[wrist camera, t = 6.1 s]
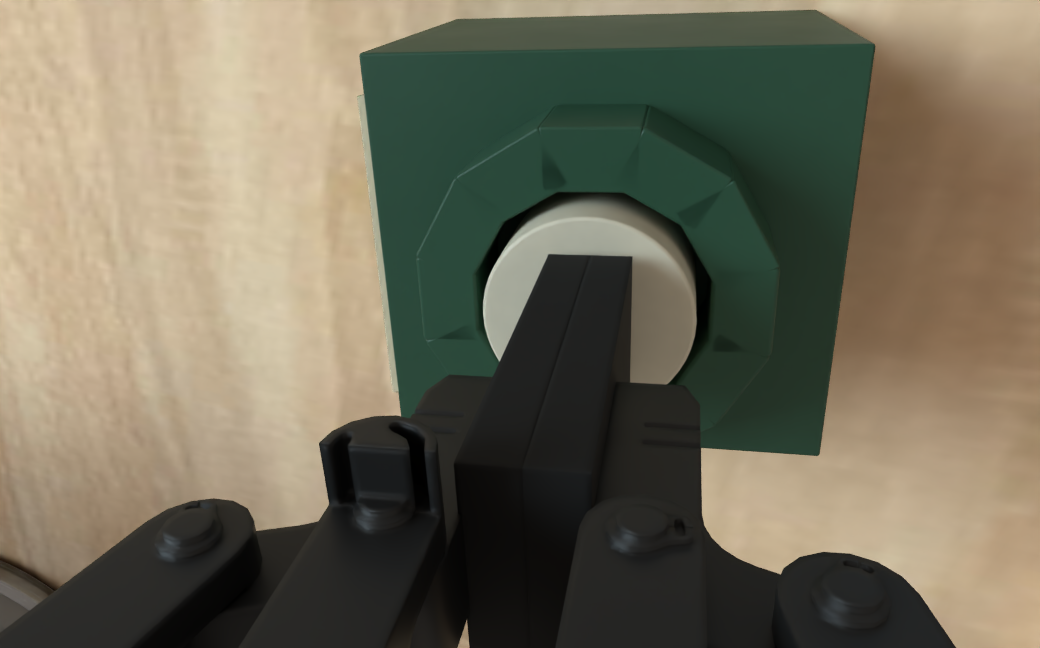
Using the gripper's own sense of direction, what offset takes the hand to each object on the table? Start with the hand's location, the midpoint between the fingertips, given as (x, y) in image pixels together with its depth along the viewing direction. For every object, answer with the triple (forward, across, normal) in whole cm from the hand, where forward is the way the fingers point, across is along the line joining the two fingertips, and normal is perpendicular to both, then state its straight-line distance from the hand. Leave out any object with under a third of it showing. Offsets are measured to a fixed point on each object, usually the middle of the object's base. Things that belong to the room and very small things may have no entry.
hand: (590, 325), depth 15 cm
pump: (+3, 0, 0) cm, 3 cm away
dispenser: (+11, 0, 0) cm, 11 cm away
